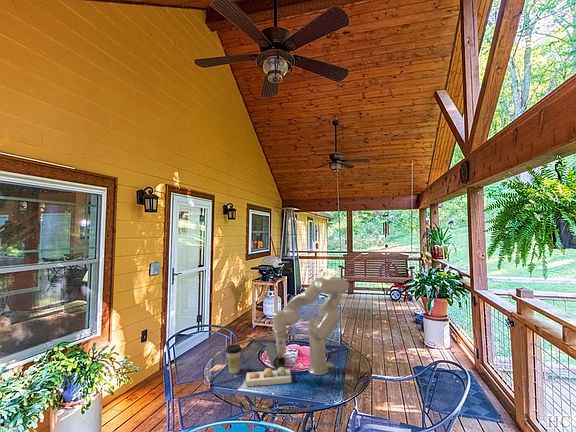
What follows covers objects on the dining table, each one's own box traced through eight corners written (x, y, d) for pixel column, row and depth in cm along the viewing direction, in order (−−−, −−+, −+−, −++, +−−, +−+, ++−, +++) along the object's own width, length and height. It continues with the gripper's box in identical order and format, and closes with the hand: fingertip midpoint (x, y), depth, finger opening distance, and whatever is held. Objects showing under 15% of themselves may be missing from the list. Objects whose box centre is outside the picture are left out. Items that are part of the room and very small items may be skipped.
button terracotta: (258, 377, 179) (258, 372, 179) (258, 381, 174) (258, 376, 174) (251, 378, 178) (250, 373, 178) (250, 382, 174) (250, 376, 174)
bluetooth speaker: (264, 357, 208) (264, 342, 208) (277, 355, 210) (277, 340, 210) (272, 372, 186) (271, 356, 186) (286, 370, 188) (286, 354, 188)
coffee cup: (239, 375, 184) (238, 350, 184) (224, 374, 186) (223, 350, 186) (244, 367, 193) (243, 344, 194) (230, 367, 195) (229, 343, 196)
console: (289, 373, 183) (289, 369, 183) (291, 382, 173) (291, 377, 173) (246, 377, 181) (246, 372, 181) (245, 386, 171) (245, 381, 171)
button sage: (285, 371, 180) (285, 366, 180) (285, 375, 176) (285, 370, 176) (278, 372, 180) (277, 367, 180) (278, 376, 175) (278, 370, 176)
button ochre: (271, 372, 179) (271, 367, 180) (272, 376, 175) (272, 371, 175) (264, 373, 179) (264, 368, 179) (264, 377, 175) (264, 372, 175)
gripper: (287, 337, 171) (289, 369, 171) (285, 327, 186) (286, 357, 186) (274, 338, 171) (275, 370, 170) (273, 328, 185) (274, 358, 185)
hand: (281, 363), depth 178 cm, fingers closed
